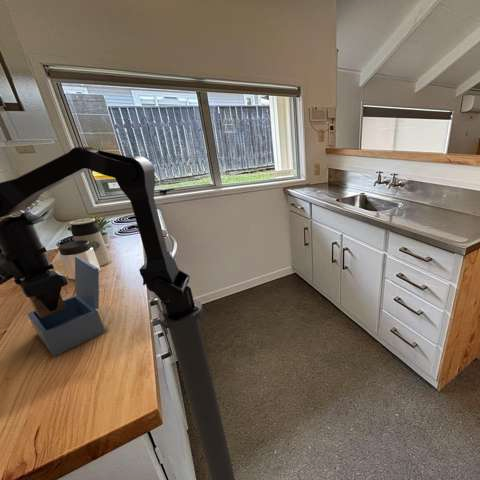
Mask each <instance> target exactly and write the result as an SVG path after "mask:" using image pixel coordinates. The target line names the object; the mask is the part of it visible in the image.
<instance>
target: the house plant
mask: <svg viewBox="0 0 480 480" xmlns="http://www.w3.org/2000/svg"><path fill="white" fill-rule="evenodd" d="M101 215H102V213H99V215H98V216H97V217H96V216H95V214H92V213H89V218H94V219H95V224H96V225H97V226H98V227H99V229H100V232H101V235H102V238H103V241H104V244H108V243H110V236H109V232H106V229H108V228H113V227H114V225H113V223H111V222H114V221H116V219H112V220H108V219H109V218H110V216H109V215H110V214H106V215H104V216H103V218H101V220H100V216H101ZM107 216H108V217H107ZM99 220H100V221H99ZM109 223H111V224H109ZM110 244H111V243H110ZM110 244H109V245H108V246H105V247H106V249H108V248H110Z"/></svg>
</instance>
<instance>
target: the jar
mask: <svg viewBox="0 0 480 480" xmlns="http://www.w3.org/2000/svg"><path fill="white" fill-rule="evenodd" d="M57 249H58V251H59V256H58V257H59V258H60V261H61V263H62V265H63V268H64V270H65V273H66V275H67V277H68V279H70V280H75V257H80V258H82V259H84V260H85V261H87V262H89V263H90V264H92V265H94V266H95V267H97V268H99V272H100V271H102V269H101V266H99V264H98V261H97V258H96V255H95V252H94V250H93V248H91V246H90V243H89V241H87V240H80V241H75V240H74V241H69V242H66V243H63V244H60V245H59V246H58V247H57Z"/></svg>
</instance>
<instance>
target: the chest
mask: <svg viewBox="0 0 480 480" xmlns="http://www.w3.org/2000/svg"><path fill="white" fill-rule="evenodd" d="M63 301H64V303H65V306H66V308H67V309H65V310H62V311H60V312H57V313H55V314H52V315H50V316H47V317H44V318H42V319H41V318H40V317H39V315H38V314H37V313H36V311H35V310H32V311H30V312H27V313H26V315H27V316H28V319H29V320H30V322H31V324H32V326H33V328H34V330H35V332H36V334H37V336H38V337H39V339H40V340H41V341H42V343H43V344H44V345H45V347H46V348H47V350H48V351H49V352H50V353H51V355H52V356H53V357H56V356H59V355H60V354H63V353H65V352H66V351H69V350H70V349H72V348H75V347H77V346H79V345H81V344H83V343H85V342H87V341H89V340H91V339H93V338H95V337H97V336H99V335H102V334H103V333H106V329H105V328H104V325H103V322H102V319H101V317H100V314H99V311H98V309H93V308H92V307H91V306H90V305H89V304H87V303H86V302H85V301H84V300H83V299H81V298H80V297H79V296H78V295H77V294H75V295H73V296H70V297H68V298H66V299H63Z"/></svg>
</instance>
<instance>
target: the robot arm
mask: <svg viewBox="0 0 480 480" xmlns="http://www.w3.org/2000/svg"><path fill="white" fill-rule="evenodd" d="M88 170H90V171H92V172H95V173H97V174H100V175H103V176H106V177H111V178H113V179H115V181H116V183H117V186H118V187H119V189H120V190H121V191H122V193H123V194H124V195H125V196H126V197H127V198H128V200H129V202H130V205H131V208H132V212H133V215H134V218H135V222H136V225H137V229H138V232H139V237H140V240H141V244H142V246H143V250H144V254H145V258H146V261H145V262H144V263H143V265H142V266H141V267H140V268H139V269H138V270H139V273H140V276H141V278H142V286H146V288H147V290H148V291H149V292H152V293H154V294H155V296H156V297H157V298H158V299H159V301H160V306H161V309H162V310H163V314H164V315H165V316H167V317H168V318H171V319H172V320H174V321H177V320H179V319H181V318H183V317H184V316H186V315H188V314H190V313H192V312H193V311H195V310H197V309H198V306H196V305H194V301H193V300H194V297H193V293H192V287H191V286H189V285H188V284H189V282H190V278H191V276H190V275H189V274H187V273H186V272H184V271H183V270H181V269H179V267H178V264H177V263H176V261H175V259H174V258H173V256H172V255H171V254H170V253H169V252H168V248H167V244H166V240H165V236H164V233H163V228H162V225H161V220H160V217H159V213H158V209H157V205H156V201H155V189H156V173H155V172H156V170H155V166H154V164H153V163H152V162H151V161H150V160H149V159H147V158H146V157H144V156H141V155H131V156H126V155H124V154H123V155H122V154H118V153H114V152H108V151H105V150H100V149H97V148H95V147H92V146H76V147H73V148H71V149H70V150H69V151H68V152H66V153H64V154H62V155H59V156H58V157H56V158H54V159H52V160H50V161H48V162H46V163H44V164H42V165H40V166H38V167H36V168H34V169H32V170H30V171H28V172H26V173H24V174H22V175H20V176H18V177H15V178H13V179H10V180H5V181H1V182H0V219H1V218H2V219H1V220H0V250H1V253H0V257H1V260H0V286H1V285H3V284H5V283H6V282H8V281H10V280H11V279H14V280H13V282H14V284H16V285H19V286H20V288H21V289H20V290H21V292H22V293H23V294H24V295H25V297H27V298H29V297H34V296H37V297H38V298H39V299H40V300H41V301H42V303H43V304H44V305H45V306H46V307H47V308H48V309H49V311H53V310H56V309H57V305H58V300H59V296H60V294H61V291H62V288H63V287H65V286H68V285H69V282H68V280H67V277H66V275H64V274H63V273H62V272H60V271H57V270H54V269H55V267H54V265H53V263H52V262H50V260H49V258H48V256H47V252H48V251H47V248H46V247H45V246H43V244H42V242H41V240H40V236H39V234H38V232H37V230H36V228H35V225H36V224H38V223H42V222H45V218H44V217H42V216H41V215H37V214H35V213H33V212H32V211H26V212H23V213H20V215H19V216H10V215H12V214H15V213H18V212H22V211H25V210H27V209H28V208H30V207H31V206H32V205H33V204H34V203H35V202H37V201H38V199H39V198H40V196H41V195H43V194H44V193H45V192H47V191H49V190H51V189H53V188H55V187H56V186H57V187H58V186H59V185H61V184H62V183H65V182H67V181H69V180H71V179H72V178H75V177H76V176H78V175H80V174H83V173H84V172H86V171H88ZM162 310H161V311H162Z"/></svg>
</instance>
